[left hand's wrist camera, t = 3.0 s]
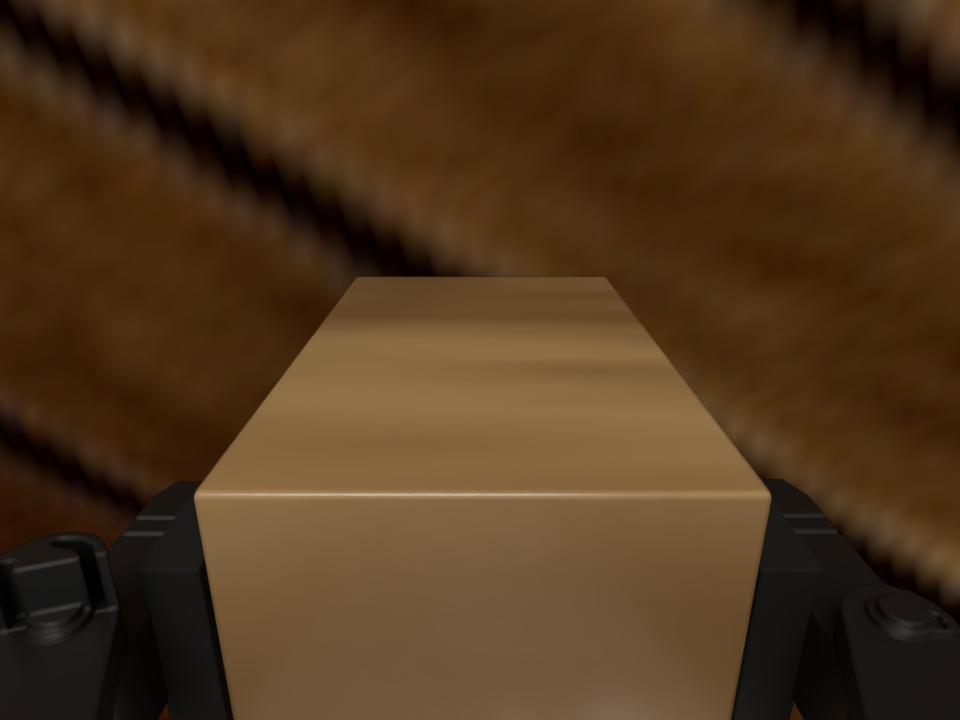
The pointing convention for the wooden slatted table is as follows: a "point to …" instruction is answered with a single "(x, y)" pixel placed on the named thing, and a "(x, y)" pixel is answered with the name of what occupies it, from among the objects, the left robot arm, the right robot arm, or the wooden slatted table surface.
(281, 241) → the wooden slatted table surface
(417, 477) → the bar
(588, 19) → the wooden slatted table surface
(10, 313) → the wooden slatted table surface
